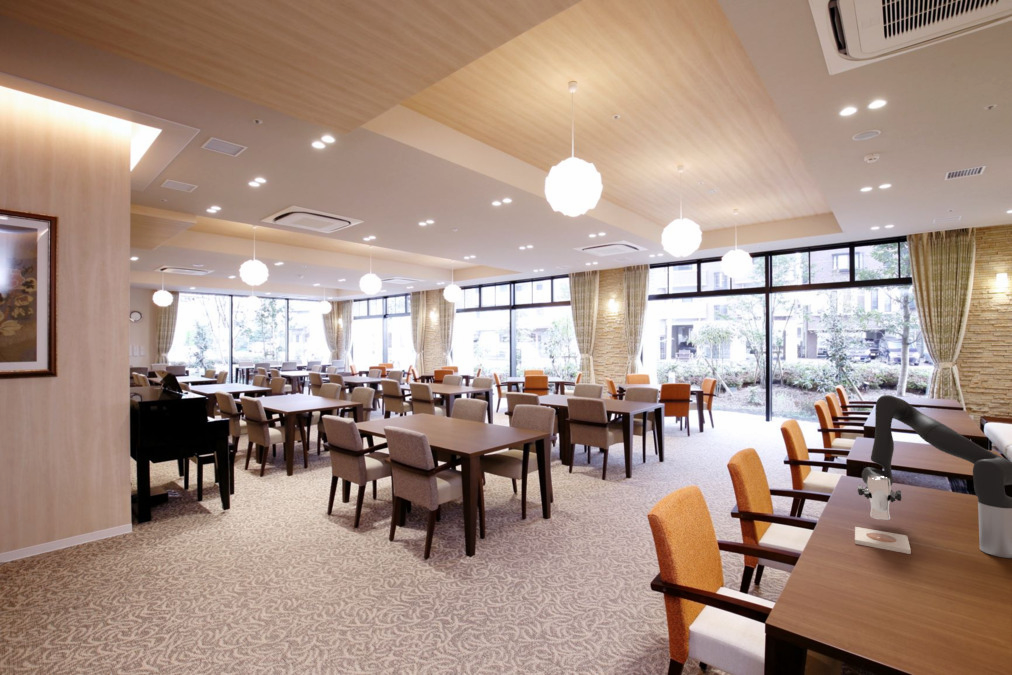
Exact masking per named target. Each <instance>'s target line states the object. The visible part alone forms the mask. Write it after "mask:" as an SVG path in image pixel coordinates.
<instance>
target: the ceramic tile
mask: <svg viewBox="0 0 1012 675" xmlns="http://www.w3.org/2000/svg"><path fill="white" fill-rule="evenodd" d="M908 538H909V537H908V535H907V534H906V535H905V534H899V533H894V532H887V531H883V530H882V531H881V530H878V529H877V530H875V529H871V528H865V527H859V526H854V543H855V544H856V545H861V546H866V547H871V548H875V549H880V550H881V549H882V550H887V551H893V552H896V553H904V554H908V555H912V553H911V552H912V551H911V546H910V542H909V539H908Z"/></svg>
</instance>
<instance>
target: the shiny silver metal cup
mask: <svg viewBox="0 0 1012 675" xmlns="http://www.w3.org/2000/svg"><path fill="white" fill-rule="evenodd" d="M891 487H892V486H891V485H890V479H889V478H887V477H882V476H868V492H869V502H870V514H869V516H870V517H871V518H873V519H876V520H879V521H889V520H891V516H890V508H889V507H890V504H891V501H890V498H891V490H892V488H891Z"/></svg>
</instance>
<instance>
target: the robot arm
mask: <svg viewBox="0 0 1012 675" xmlns="http://www.w3.org/2000/svg"><path fill="white" fill-rule="evenodd" d="M874 415H875V418H874V419H875V421H874V422H875V423H874V424H875V428H874V439H873V444H872V450H871V455H870V461H871V462H873V463H874V464H878V465H879V466H881V467H882V468H883V470H882V469H879V468H878V469H877V468H874V467H869V466H868V467H865V468H864V469H863V470H862V472H861V478H862V481H863V482H864V484H866V486H865V487H863V486H862V485H860V484H857V485H856V486H857V494H858V496H864V498H866V499H867V500H870V498H869V492H868V476H882V477H887V478H889V479H890V485H891V487H892V485H893V481H894V480H893V472H892V460H893V455H894V450H895V446H894V445H895V444H894V442H895V441H894V438H893V434H892V424H893V423H892V421H893V419H894V420H896V421H898V422H901V423H902V424H905V425H906V426H908V427H910V428H911V429H912V430H913V431H915V433H916V434H917V435H918V436H919V437H920V438H921V439H922V440H923V441H924V442H926V443H927V444H929V445H930V446H933V447H934V448H935V449H938V450H939V451H941V452H943V453H946V454H948V455H951V456H954V457H957V458H959V459H961V460H965V461H967V462H969V463H971V464H973V467H972V479H973V488H974V493H975V495H976V498H977V506H978V507H977V511H978V534H979V535H978V536H979V537H978V538H979V542H978V543H979V549H980V551H982V552H983V553H985V554H988V555H991V556H995V557H999V558H1005V559H1012V497H1011V496H1008V495H1007V494H1006V489H1005V486H1011V485H1012V461H1010V460H1008V459H1007V458H1005V457H1003V456H1000V455H998V454H996V453H994V452H992V451H990V450H988V449H986V448H984V447H982V446H980V445H979V444H978V443H975V442H974V441H972V440H970V439H969V438H967V437H965V436H964V435H962V434H960V433H958V432H957V431H956V430H954V429H952V428H951V427H949V426H947V425H946V424H943V423H942V422H940V421H938V420H936V419H934V418H932V417H930V416H929V415H925V414H924V413H922V412H920V411H919V409H917V408H915V407H914V406H912V404H910V403H908V402H907V401H906V400H904V399H902V398H900V397H896V396H893V395H891V394H885V395H884V394H883V395H881V396H879V397H878V399H877V400H876V403H875V414H874ZM902 497H903V496H902V490H900V489H899V490H898V489H897V490H895V491H893V490H892V489H891V498H890V503H894V502H896V501H898V502H902Z"/></svg>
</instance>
